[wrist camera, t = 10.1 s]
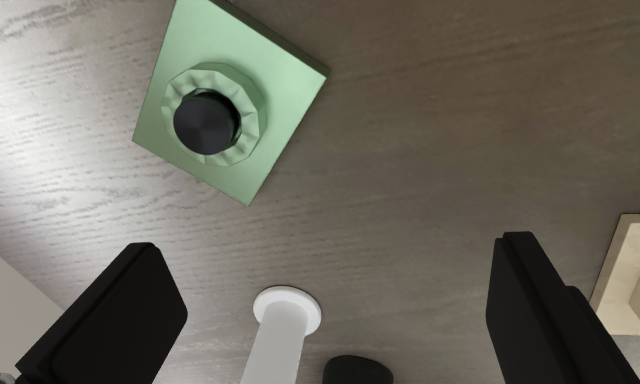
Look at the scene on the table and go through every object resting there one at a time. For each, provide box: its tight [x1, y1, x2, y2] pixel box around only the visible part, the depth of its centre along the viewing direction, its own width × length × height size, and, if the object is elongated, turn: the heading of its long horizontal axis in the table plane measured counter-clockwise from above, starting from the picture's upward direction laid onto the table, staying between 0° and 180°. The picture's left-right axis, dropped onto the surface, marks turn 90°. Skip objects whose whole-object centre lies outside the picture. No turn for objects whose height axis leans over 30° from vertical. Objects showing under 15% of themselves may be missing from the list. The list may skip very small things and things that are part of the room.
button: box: [173, 92, 239, 155], centre depth 23 cm, size 4×4×2 cm
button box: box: [132, 0, 331, 207], centre depth 25 cm, size 12×10×4 cm
